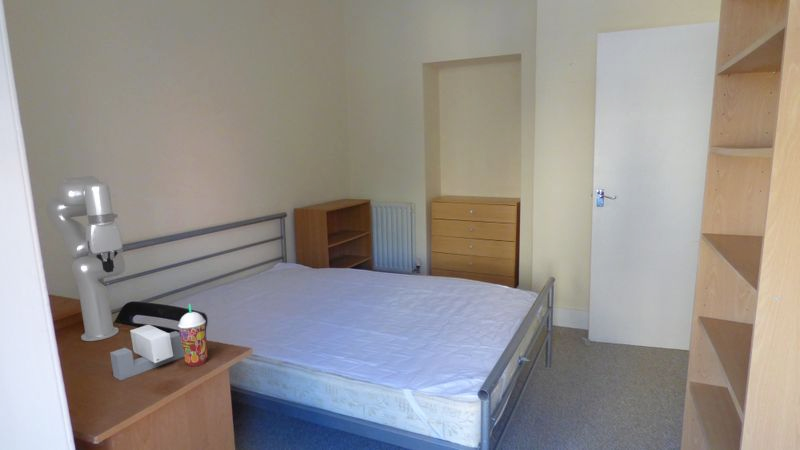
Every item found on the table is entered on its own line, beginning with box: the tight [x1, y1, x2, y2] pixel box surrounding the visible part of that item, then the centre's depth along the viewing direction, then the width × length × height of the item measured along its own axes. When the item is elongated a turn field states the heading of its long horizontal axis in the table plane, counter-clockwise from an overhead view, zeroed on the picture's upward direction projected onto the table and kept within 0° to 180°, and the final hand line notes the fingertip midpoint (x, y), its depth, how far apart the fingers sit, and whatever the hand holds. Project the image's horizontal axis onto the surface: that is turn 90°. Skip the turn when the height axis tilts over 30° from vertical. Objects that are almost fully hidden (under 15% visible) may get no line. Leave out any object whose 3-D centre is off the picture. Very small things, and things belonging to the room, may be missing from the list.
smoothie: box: [177, 303, 208, 367], centre depth 165 cm, size 8×8×20 cm
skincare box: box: [129, 324, 173, 363], centre depth 166 cm, size 8×7×16 cm
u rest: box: [109, 330, 185, 381], centre depth 165 cm, size 5×21×8 cm, turn 141°
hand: (109, 271), depth 175 cm, fingers closed
